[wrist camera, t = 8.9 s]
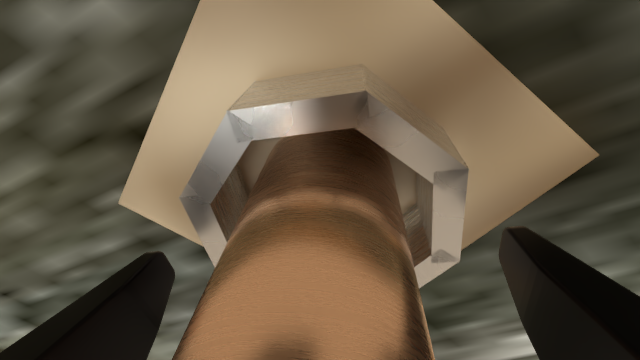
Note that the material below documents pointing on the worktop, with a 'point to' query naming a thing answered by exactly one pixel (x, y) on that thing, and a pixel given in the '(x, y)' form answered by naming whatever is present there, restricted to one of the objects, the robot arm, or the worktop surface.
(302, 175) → the copper brown cylinder
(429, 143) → the collar
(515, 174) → the board
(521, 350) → the worktop surface
